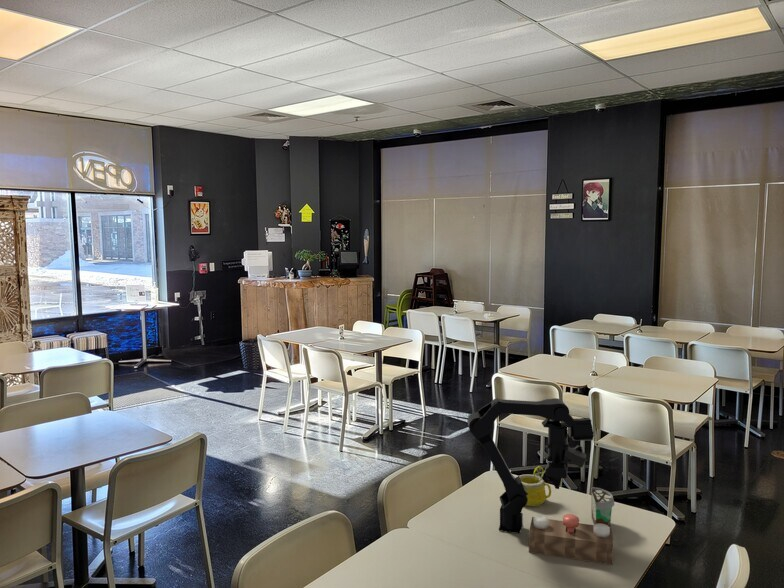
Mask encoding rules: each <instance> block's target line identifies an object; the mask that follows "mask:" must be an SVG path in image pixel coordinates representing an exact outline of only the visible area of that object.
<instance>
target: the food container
mask: <svg viewBox="0 0 784 588" xmlns="http://www.w3.org/2000/svg"><path fill="white" fill-rule="evenodd" d="M590 495H591V521H592V525H595V524H598V523H600V524H605V525H607V526H609V527H611V521H612V511H613V510H612V509H613V507H614V506H615V500H614V499H615V498H614V496H613V494H612V493H611V492H610V491H608V490H605V489H603V488H601V487H594V486H592V487H591V490H590Z"/></svg>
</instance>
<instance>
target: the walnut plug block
mask: <svg viewBox="0 0 784 588" xmlns="http://www.w3.org/2000/svg"><path fill="white" fill-rule="evenodd" d="M534 517H535V516H532V517H531V522H530V525H529V531H528V553H532V554H539V555H546V556H551V557H559V558H565V559H572V560H578V561H585V562H591V563H599V564H603V565H604V564H605V565H611V566H613V565H614V537H613V527H611V526H610V536H609V537H606V538H601V537H598V536H596V535H594V533H593V530H594V525H593V524H589V523H580V522H579V526H578V527H576V528H574V533H572V532H568V527H566V526H564V525H563V520H558V519H552V518H551V519H550V518H548V519H549V527H548V528H547V529H538V528H535V527H534V526H533V518H534Z"/></svg>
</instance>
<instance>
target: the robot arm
mask: <svg viewBox="0 0 784 588" xmlns="http://www.w3.org/2000/svg"><path fill="white" fill-rule="evenodd" d="M502 414H503V415H518V416H519V415H521V416H535V417H541V418H544V420H543V421H541V425H542V426H543V428H547V429H548V430H547V434H548V435H547V436H548V437H547V440H548V441H547V464H546V466H545V468H546V469H545V468H544V471H545V473H544V474H545V477H548V478H550V479H551V482H552V483H553V486H554V488H555V489H556V490H559V489H560V486H561V481H562V479H567V478H568V467H569V465H568V464H569V463H571V464H573V465H576V466H577V467H579V468H581V469H582V468H583V467H584V465H585V462H586V460H587V454H586V452H584V451H583V446H581V445H578V444H577V445H576V446H575V447H570V446H569V442H568V437H569V438H571V439H572V440H573V441H574V442H575V441H577V442H578V441H584V442H585V441H593V440H594V436H595V435H594V432H595V431H594V430H593V425H592V419H591V418H589V417H584V418H574V417H573V416H572V415H571V414H570V408H569V407H568V406H567V404H566V403H565V402H564V401H563V400H562V399H560V398H546V399H542V400H538V401H536V400H535V401H534V400H520V399H519V400H518V399H517V400H516V399H503V398H494V399H492V400H491V401H490V402H489V403H487V404H486V405H484V406H482V407H481V408H479V410H477V411H476V412H472V413H470V414H469V415H468V418H467V425H468V430H469V432H470V433H471V434H472V436H473V437H474V438H475V439H476V440H477V442H478V443H480V445H481V446H482V448H483V449H484V451H485V453H486V454H487V456H488V458H489V460H490V461H491V464H492V465H493V468H494V469H495V471H496V473H497V475H498V476H499V478H500V480H501V482H502V485H503V487H504V490H505V491H504V492H503V493H502V494H501V495H500V496H499V501H500V503H501V506H500V507H499V527H498V531H499V532H507V533H514V534H520V533H521V530H522V529H523V526H524V525H523V524H524V513H523V512H522V510H523V508H525V507H526V504H527V501H528V498H527V496H526V495H528V493H527V490H526V488H525V485H524V484H522V482H521V479H520V477H519V476H520V475H517V476H516V477H515V476H514V475H513V474H512V472H511V470H510V468H509V467H508V465H507V463H506V461H505V459H504V457H503V455H502V453H501V452H500V449H498V446H497V445H496V443H495V441H494V439H493V437H492V435H491V431H490V429H489V427H490V426H492V425H493V423H494V422H495V421H496V420H497V419H498V418H499V416H501V415H502Z"/></svg>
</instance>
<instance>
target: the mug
mask: <svg viewBox="0 0 784 588" xmlns="http://www.w3.org/2000/svg"><path fill="white" fill-rule="evenodd" d="M545 469H546V467H545V468H543V467H542V466H540V465H539V466H536V467H535V468H534V470H533V474H521V475H518V476H519V477H520V479H521V482H522V484H524V485H525V488H526V490H527V493H528V495H526V496H527V498H528V501H527V504H526V505H525V507H537V506H541V505H542V504H544V503H545V502H546V500H547V499H549V498H550V497H551V496H552V488H551V485H550V484H549V483H546V482H545V480H544V479H543V478H544V474H545ZM546 487H547V488H548V494H546Z"/></svg>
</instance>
